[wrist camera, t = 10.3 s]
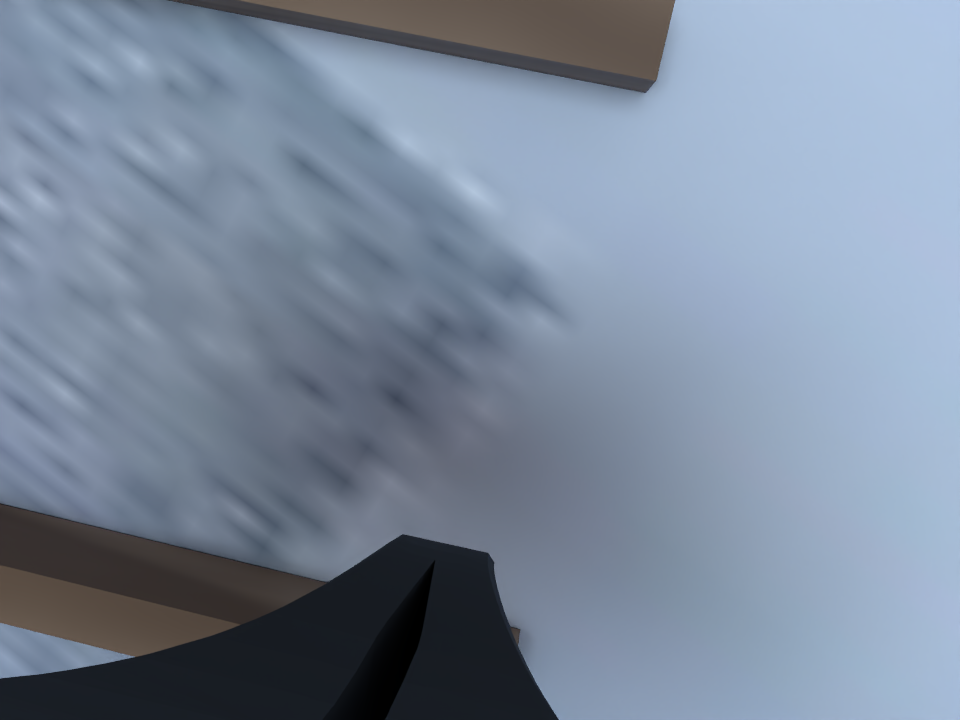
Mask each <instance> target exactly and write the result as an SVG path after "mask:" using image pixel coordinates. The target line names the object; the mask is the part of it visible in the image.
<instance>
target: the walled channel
mask: <svg viewBox="0 0 960 720" xmlns="http://www.w3.org/2000/svg"><path fill="white" fill-rule="evenodd" d="M169 1H174V2H179V3H185V4H190V5H195V6H200V7H205V8H210V9H216V10H221V11H226V12H231V13H236V14H241V15H247V16H252V17H257V18H262V19H267V20H272V21H277V22H283V23H288V24H293V25H298V26H303V27H308V28H314V29H319V30H324V31H329V32H334V33H339V34H345V35H350V36H355V37H360V38H365V39H370V40H376V41H381V42H386V43H391V44H396V45H401V46H406V47H412V48H417V49H422V50H427V51H432V52H437V53H443V54H448V55H453V56H458V57H463V58H468V59H474V60H479V61H484V62H489V63H494V64H499V65H505V66H510V67H515V68H520V69H525V70H530V71H535V72H541V73H546V74H551V75H556V76H561V77H566V78H572V79H577V80H582V81H587V82H592V83H597V84H603V85H608V86H613V87H618V88H623V89H628V90H634V91H639V92H644V93H646V92H647V91H648V89H649V88H650V87H651V86H652V85H653V84H654V83H655V82H656V79H657V75H658V71H659V66H660V62H661V58H662V54H663V50H664V45H665V41H666V37H667V33H668V28H669V24H670V20H671V16H672V11H673V7H674V3H675V0H169ZM325 584H326V583H325V582H321V581H317V580H312V579H308V578H304V577H300V576H296V575H292V574H288V573H284V572H279V571H275V570H271V569H267V568H263V567H259V566H255V565H250V564H246V563H242V562H238V561H234V560H230V559H226V558H221V557H217V556H213V555H209V554H205V553H201V552H197V551H193V550H188V549H184V548H180V547H176V546H172V545H168V544H164V543H159V542H155V541H151V540H147V539H143V538H139V537H135V536H130V535H126V534H122V533H118V532H114V531H110V530H106V529H102V528H97V527H93V526H89V525H85V524H81V523H77V522H73V521H68V520H64V519H60V518H56V517H52V516H48V515H44V514H39V513H35V512H31V511H27V510H23V509H19V508H15V507H11V506H6V505H2V504H0V623H4V624H8V625H12V626H16V627H20V628H24V629H28V630H32V631H35V632H39V633H43V634H47V635H51V636H55V637H59V638H63V639H67V640H71V641H75V642H79V643H83V644H87V645H91V646H95V647H99V648H103V649H107V650H111V651H115V652H119V653H123V654H127V655H131V656H135V657H138V656H142V655H146V654H150V653H154V652H157V651H161V650H164V649H167V648H171V647H174V646H178V645H181V644H185V643H188V642H191V641H195V640H198V639H202V638H205V637H209V636H212V635H215V634H218V633H220V632H223V631H226V630H228V629H231V628H234V627H236V626H239V625H241V624H244V623H247V622H249V621H252V620H254V619H257V618H259V617H261V616H263V615H266V614H268V613H270V612H273V611H275V610H277V609H279V608H281V607H283V606H285V605H287V604H289V603H291V602H293V601H295V600H296V599H298V598H300V597H302V596H304V595H306V594H308V593H310V592H311V591H313V590H315V589H317V588H319V587H321V586H323V585H325ZM510 628H511V627H510ZM511 631H512V633H513V636H514V638H515V641H516V643H517V645H518V641H519V634H520V630H519V629H515V628H511Z"/></svg>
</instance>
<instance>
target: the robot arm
mask: <svg viewBox="0 0 960 720" xmlns="http://www.w3.org/2000/svg"><path fill="white" fill-rule="evenodd" d="M0 720H559V719H558V718H557V716H556V715H555V713H554V712H553V710H552V709H551V707H550V705H549V704H548V702H547V701H546V699H545V698H544V696H543V694H542V692H541V691H540V689H539V687H538V685H537V684H536V682H535V680H534V678H533V676H532V674H531V673H530V670H529V668H528V666H527V664H526V662H525V660H524V658H523V656H522V654H521V652H520V650H519V648H518V645H517V643H516V641H515V638H514V636H513V633H512V631H511V628H510V625H509V623H508V620H507V617H506V615H505V612H504V609H503V606H502V603H501V600H500V596H499V592H498V589H497V585H496V580H495V574H494V562H493V560H492V558H491V557H490V555H489V554H488V553H486V552H481V551H477V550H472V549H467V548H463V547H458V546H454V545H449V544H445V543H440V542H435V541H431V540H426V539H422V538H417V537H413V536H408V535H404V534H402V535H401V536H399V537H398V538H396V539H394V540H393V541H391V542H390V543H388V544H386V545H385V546H383V547H382V548H380V549H379V550H378V551H376V552H375V553H373V554H372V555H370V556H369V557H367V558H366V559H364V560H363V561H361V562H360V563H358V564H357V565H355V566H354V567H352V568H350V569H349V570H347V571H346V572H344V573H342V574H341V575H339V576H338V577H336V578H334V579H333V580H331V581H329V582H328V583H326V584H325V585H323V586H321V587H319V588H317V589H315V590H313V591H311V592H310V593H308V594H306V595H304V596H302V597H300V598H298V599H296V600H295V601H293V602H291V603H289V604H287V605H285V606H283V607H281V608H279V609H277V610H275V611H273V612H270V613H268V614H266V615H263V616H261V617H259V618H257V619H254V620H252V621H249V622H247V623H244V624H241V625H239V626H236V627H234V628H231V629H228V630H226V631H223V632H220V633H218V634H215V635H212V636H209V637H205V638H202V639H198V640H195V641H191V642H188V643H185V644H181V645H178V646H174V647H171V648H167V649H164V650H161V651H157V652H154V653H150V654H146V655H142V656H138V657H133V658H129V659H124V660H120V661H115V662H110V663H106V664H100V665H95V666H89V667H83V668H78V669H72V670H66V671H60V672H53V673H46V674H39V675H30V676H20V677H11V678H1V679H0Z"/></svg>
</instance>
